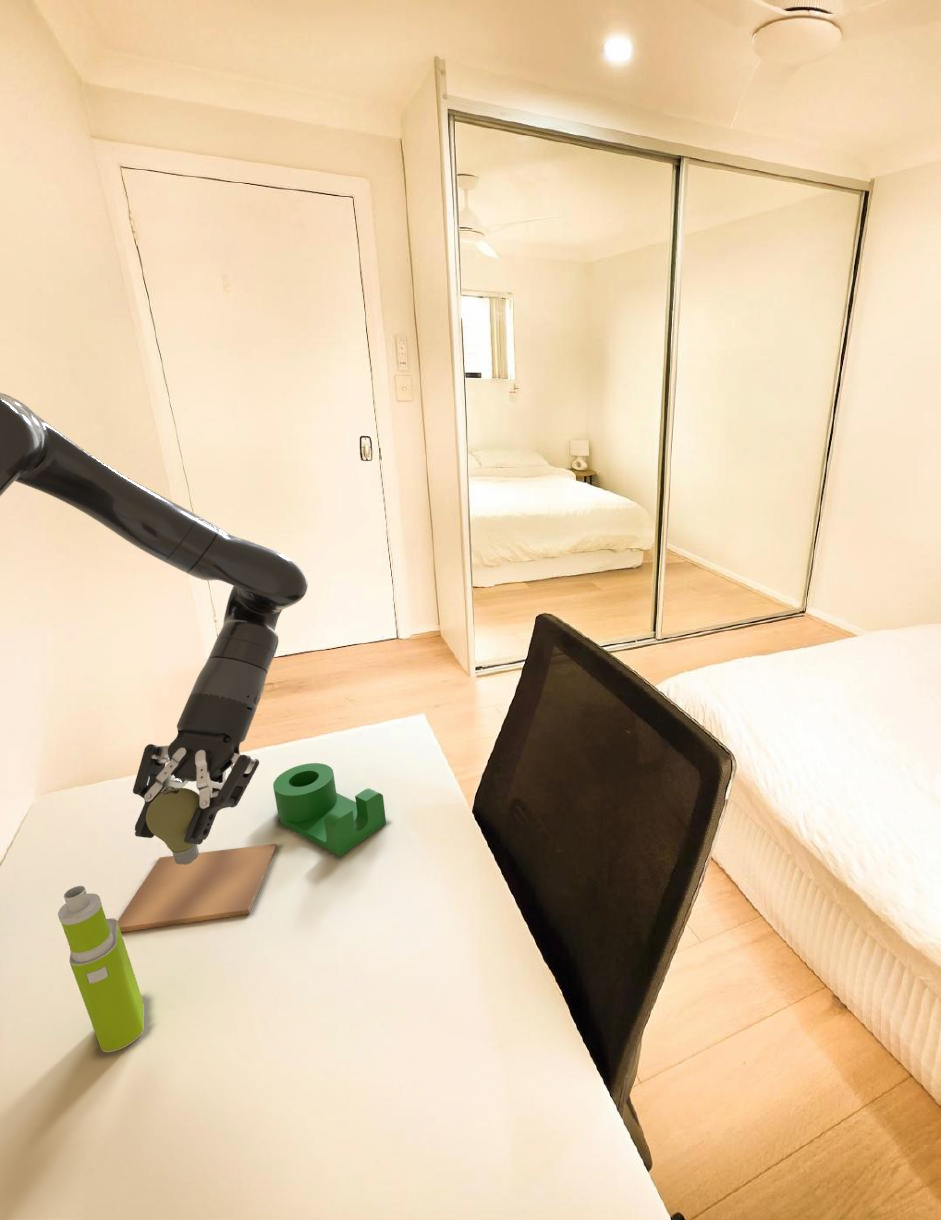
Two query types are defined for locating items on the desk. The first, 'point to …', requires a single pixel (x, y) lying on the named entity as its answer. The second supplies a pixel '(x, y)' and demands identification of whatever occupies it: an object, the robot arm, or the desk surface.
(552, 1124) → the desk surface
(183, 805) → the light bulb
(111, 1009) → the vape
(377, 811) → the slotted cylinder bracket
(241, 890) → the brown wooden board
